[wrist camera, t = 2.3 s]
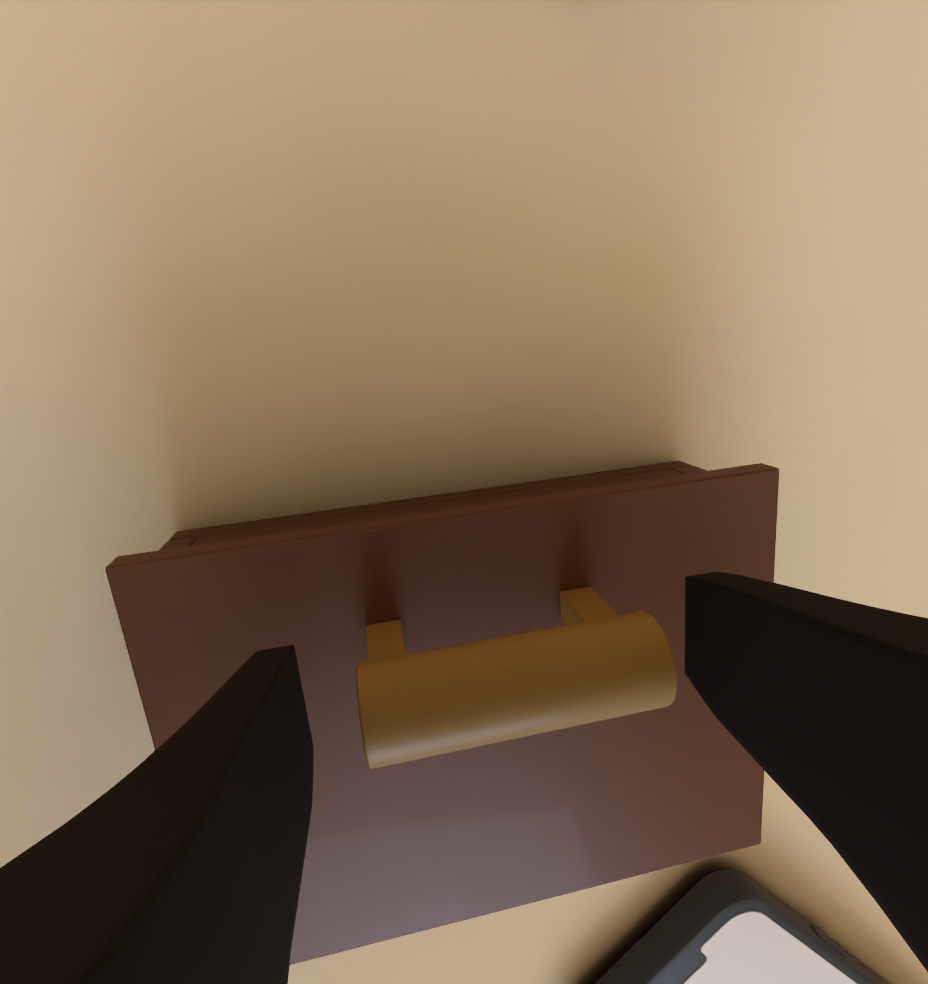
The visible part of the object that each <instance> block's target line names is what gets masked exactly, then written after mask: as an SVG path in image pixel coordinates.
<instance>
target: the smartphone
mask: <svg viewBox="0 0 928 984" xmlns="http://www.w3.org/2000/svg"><path fill="white" fill-rule="evenodd" d="M595 984H888V983H886V982H885V981H884V980H882V979H881V978H880V977H879V976H877V975H876V974H875V973H873V972H872V971H871V970H869V969H868V968H867V967H866V966H864V965H863V964H862V963H860V962H859V961H858V960H857V959H855V958H854V957H853V956H851V955H850V954H849V953H847V952H846V951H845V950H844V949H842V947H841V946H840V945H839V944H838V943H837V942H835V941H834V940H833V939H832V938H830V937H829V936H828V935H826V934H825V933H824V932H822V931H821V930H820V929H819V928H817V927H816V926H815V925H813V924H810V923H809V922H807V921H806V920H805V919H803V918H802V917H801V916H800V915H798V914H797V913H796V912H794V911H793V910H792V909H790V908H789V907H788V906H787V905H785V904H784V903H783V902H781V901H780V900H779V899H778V898H776V897H775V896H774V895H772V894H771V893H770V892H768V891H767V890H766V889H765V888H763V887H762V886H761V885H759V884H758V883H757V882H755V881H754V880H753V879H752V878H750V877H749V876H748V875H746V874H745V873H743V872H741V871H738V870H735V869H723V870H719V871H715V872H713V873H711V874H709V875H707V876H705V877H704V878H702V879H701V880H700V881H699V882H698V883H697V884H696V885H695V886H694V887H693V888H692V889H691V890H689V891H688V892H687V893H686V894H685V895H684V896H683V897H682V898H681V899H680V900H679V901H678V902H677V903H676V904H675V905H674V906H673V907H672V908H671V909H670V910H669V911H668V912H667V913H666V914H665V915H664V916H663V917H662V918H661V919H660V920H659V921H658V922H657V923H656V924H655V925H654V926H653V927H652V928H651V929H650V930H649V931H648V932H647V933H646V934H645V935H644V936H643V937H642V938H641V939H640V940H639V941H638V942H637V943H636V944H634V945H633V946H632V947H631V948H630V949H629V950H628V951H627V952H626V953H625V954H624V955H623V956H622V957H621V958H620V959H619V960H618V961H617V962H616V963H615V964H614V965H613V966H612V967H611V968H610V969H609V970H608V971H607V972H606V973H605V974H604V975H603V976H602V977H601V978H600V979H599V980H598V981H597V982H596V983H595Z"/></svg>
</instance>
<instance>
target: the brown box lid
mask: <svg viewBox="0 0 928 984" xmlns="http://www.w3.org/2000/svg"><path fill="white" fill-rule="evenodd" d="M778 481H779V469H778V468H775V467H772V466H768V465H765V464H762V463H760V464H753V465H746V466H739V467H732V468H725V469H718V470H711V471H705V472H698V473H691V474H684V475H677V476H670V477H663V478H656V479H649V480H643V481H636V482H629V483H622V484H615V485H608V486H601V487H594V488H587V489H580V490H574V491H567V492H560V493H553V494H546V495H539V496H532V497H525V498H518V499H511V500H505V501H498V502H491V503H484V504H477V505H470V506H463V507H456V508H449V509H443V510H436V511H429V512H422V513H415V514H408V515H401V516H394V517H387V518H380V519H374V520H367V521H360V522H353V523H346V524H339V525H332V526H325V527H318V528H311V529H305V530H298V531H291V532H284V533H277V534H270V535H263V536H256V537H249V538H243V539H236V540H229V541H222V542H215V543H208V544H201V545H194V546H187V547H180V548H174V549H167V550H160V551H153V552H146V553H139V554H132V555H125V556H119V557H117V558H115V559H114V560H113V561H112V562H111V563H110V564H109V565H108V566H107V567H106V574H107V577H108V581H109V584H110V588H111V592H112V595H113V599H114V602H115V606H116V610H117V613H118V617H119V620H120V624H121V628H122V631H123V635H124V639H125V642H126V646H127V649H128V653H129V657H130V660H131V664H132V667H133V671H134V675H135V678H136V682H137V685H138V689H139V693H140V696H141V700H142V704H143V707H144V711H145V714H146V718H147V722H148V725H149V729H150V732H151V736H152V740H153V743H154V747H155V750H157V749H158V748H159V747H160V746H161V745H162V744H163V743H164V742H165V741H166V740H167V739H168V738H170V737H171V736H172V735H173V734H174V733H175V732H176V731H177V730H178V729H179V728H180V727H181V726H183V725H184V724H185V723H186V722H187V721H188V720H189V719H190V718H191V717H192V716H193V715H194V714H195V713H196V712H197V711H198V710H199V709H200V708H201V707H202V706H203V705H204V704H205V703H206V702H207V701H208V700H209V699H210V698H211V697H212V696H213V695H214V694H215V693H216V692H217V691H218V690H219V689H220V688H221V687H222V686H223V685H224V684H225V683H226V682H227V680H228V679H229V678H230V677H231V676H232V675H233V674H234V673H235V672H236V671H237V670H238V669H239V668H240V667H241V666H242V665H243V664H244V663H245V662H246V661H247V660H248V659H249V658H250V657H251V656H252V655H253V654H254V653H255V652H256V651H260V650H265V649H271V648H277V647H283V646H288V645H294V647H295V652H296V657H297V663H298V668H299V673H300V678H301V683H302V689H303V694H304V699H305V704H306V709H307V715H308V720H309V725H310V730H311V735H312V741H313V746H314V760H313V801H312V810H311V818H310V825H309V832H308V839H307V845H306V852H305V859H304V866H303V873H302V879H301V886H300V893H299V899H298V906H297V913H296V919H295V926H294V933H293V940H292V946H291V955H290V964H289V965H291V964H295V963H299V962H303V961H306V960H310V959H314V958H318V957H322V956H326V955H330V954H334V953H338V952H341V951H345V950H349V949H353V948H357V947H361V946H365V945H369V944H373V943H376V942H380V941H384V940H388V939H392V938H396V937H400V936H404V935H408V934H411V933H415V932H419V931H423V930H427V929H431V928H435V927H439V926H443V925H446V924H450V923H454V922H458V921H462V920H466V919H470V918H474V917H477V916H481V915H485V914H489V913H493V912H497V911H501V910H505V909H509V908H512V907H516V906H520V905H524V904H528V903H532V902H536V901H540V900H544V899H547V898H551V897H555V896H559V895H563V894H567V893H571V892H575V891H579V890H582V889H586V888H590V887H594V886H598V885H602V884H606V883H610V882H614V881H617V880H621V879H625V878H629V877H633V876H637V875H641V874H645V873H649V872H652V871H656V870H660V869H664V868H668V867H672V866H676V865H680V864H684V863H687V862H691V861H695V860H699V859H703V858H707V857H711V856H715V855H719V854H722V853H726V852H730V851H734V850H738V849H742V848H746V847H750V846H754V845H757V844H760V842H761V822H762V802H763V782H764V769H763V768H762V767H761V766H760V765H759V764H758V763H757V762H756V761H755V760H754V759H753V758H752V757H751V755H750V754H749V753H748V752H747V751H746V750H745V749H744V748H743V747H742V746H741V745H740V744H739V742H738V741H737V740H736V739H735V738H734V737H733V736H732V735H731V734H730V733H729V732H728V730H727V729H726V728H725V727H724V726H723V725H722V724H721V723H720V721H719V720H718V719H717V718H716V717H715V716H714V714H713V713H712V712H711V710H710V709H709V707H708V706H707V705H706V703H705V702H704V701H703V699H702V698H701V696H700V695H699V693H698V692H697V690H696V689H695V687H694V686H693V684H692V683H691V682H690V680H689V679H688V677H687V676H686V674H685V577H686V576H692V575H698V574H704V573H709V572H724V573H731V574H737V575H742V576H747V577H751V578H756V579H760V580H764V581H768V582H772V583H773V581H774V561H775V541H776V521H777V501H778Z"/></svg>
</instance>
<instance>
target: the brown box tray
mask: <svg viewBox="0 0 928 984" xmlns="http://www.w3.org/2000/svg"><path fill="white" fill-rule="evenodd" d="M705 471H707V470H704V469H701V468H698V467H695V466H692V465H689V464H686V463H684V462H681V461H676V462H669V463H661V464H654V465H647V466H640V467H633V468H626V469H619V470H612V471H605V472H598V473H591V474H583V475H576V476H569V477H562V478H555V479H548V480H541V481H534V482H527V483H520V484H512V485H505V486H498V487H491V488H484V489H477V490H470V491H463V492H456V493H449V494H442V495H434V496H427V497H420V498H413V499H406V500H399V501H392V502H385V503H378V504H371V505H363V506H356V507H349V508H342V509H335V510H328V511H321V512H314V513H307V514H300V515H292V516H285V517H278V518H271V519H264V520H257V521H250V522H243V523H236V524H229V525H222V526H214V527H207V528H200V529H193V530H186V531H179V532H176V533H175V534H174V535H173V536H172V537H171V538H170V539H169V541H168V542H166V543H165V545H164V546H163V547H162V548H161V549H160V550H167V549H174V548H180V547H187V546H194V545H201V544H208V543H215V542H222V541H229V540H236V539H243V538H249V537H256V536H263V535H270V534H277V533H284V532H291V531H298V530H305V529H311V528H318V527H325V526H332V525H339V524H346V523H353V522H360V521H367V520H374V519H380V518H387V517H394V516H401V515H408V514H415V513H422V512H429V511H436V510H443V509H449V508H456V507H463V506H470V505H477V504H484V503H491V502H498V501H505V500H511V499H518V498H525V497H532V496H539V495H546V494H553V493H560V492H567V491H574V490H580V489H587V488H594V487H601V486H608V485H615V484H622V483H629V482H636V481H643V480H649V479H656V478H663V477H670V476H677V475H684V474H691V473H698V472H705ZM160 550H159V551H160Z"/></svg>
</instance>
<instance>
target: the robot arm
mask: <svg viewBox="0 0 928 984" xmlns="http://www.w3.org/2000/svg"><path fill="white" fill-rule="evenodd" d="M685 674H686V676H687V677H688V679H689V680H690V682H691V683H692V684H693V686H694V687H695V689H696V690H697V692H698V693H699V695H700V696H701V698H702V699H703V701H704V702H705V703H706V705H707V706H708V707H709V709H710V710H711V712H712V713H713V714H714V716H715V717H716V718H717V719H718V720H719V721H720V723H721V724H722V725H723V726H724V727H725V728H726V729H727V730H728V732H729V733H730V734H731V735H732V736H733V737H734V738H735V739H736V740H737V741H738V742H739V744H740V745H741V746H742V747H743V748H744V749H745V750H746V751H747V752H748V753H749V754H750V755H751V757H752V758H753V759H754V760H755V761H756V762H757V763H758V764H759V765H760V766H761V767H762V768H763V769H764V770H765V771H766V773H767V774H768V775H769V776H770V777H771V778H772V779H773V780H774V781H775V782H776V783H777V784H778V785H779V786H780V788H781V789H782V790H783V791H784V792H785V793H786V794H787V795H788V796H789V797H790V798H791V799H792V800H793V801H794V803H795V804H796V805H797V806H798V807H799V808H800V809H801V810H802V811H803V812H804V813H805V814H806V815H807V816H808V817H809V819H810V820H811V821H812V822H813V823H814V824H815V826H816V827H817V828H818V829H819V830H820V831H821V832H822V834H823V835H824V836H825V837H826V838H827V839H828V841H829V842H830V843H831V844H832V845H833V847H834V848H835V849H836V850H837V852H838V853H839V854H840V856H841V857H842V858H843V859H844V861H845V862H846V863H847V865H848V866H849V867H850V868H851V870H852V871H853V872H854V874H855V875H856V876H857V877H858V879H859V880H860V881H861V883H862V884H863V885H864V886H865V888H866V889H867V890H868V892H869V893H870V894H871V895H872V897H873V898H874V899H875V901H876V902H877V903H878V905H879V906H880V907H881V909H882V910H883V911H884V913H885V914H886V916H887V917H888V918H889V920H890V921H891V922H892V924H893V925H894V926H895V928H896V929H897V931H898V932H899V933H900V935H901V936H902V937H903V939H904V940H905V941H906V943H907V944H908V946H909V947H910V948H911V950H912V951H913V952H914V954H915V955H916V956H917V958H918V959H919V961H920V962H921V963H922V965H923V966H924V967H925V969H926V970H927V971H928V618H923V617H917V616H912V615H908V614H903V613H898V612H894V611H889V610H884V609H880V608H875V607H870V606H866V605H862V604H857V603H853V602H849V601H845V600H841V599H836V598H832V597H828V596H824V595H820V594H816V593H812V592H808V591H804V590H800V589H797V588H793V587H789V586H785V585H781V584H776V583H772V582H768V581H764V580H760V579H756V578H751V577H747V576H742V575H737V574H731V573H724V572H709V573H704V574H698V575H692V576H686V577H685ZM313 760H314V746H313V741H312V735H311V730H310V725H309V720H308V715H307V709H306V704H305V699H304V694H303V689H302V683H301V678H300V673H299V668H298V663H297V657H296V652H295V647H294V645H288V646H283V647H277V648H271V649H265V650H260V651H256V652H255V653H254V654H253V655H252V656H251V657H250V658H249V659H248V660H247V661H246V662H245V663H244V664H243V665H242V666H241V667H240V668H239V669H238V670H237V671H236V672H235V673H234V674H233V675H232V676H231V677H230V678H229V679H228V680H227V682H226V683H225V684H224V685H223V686H222V687H221V688H220V689H219V690H218V691H217V692H216V693H215V694H214V695H213V696H212V697H211V698H210V699H209V700H208V701H207V702H206V703H205V704H204V705H203V706H202V707H201V708H200V709H199V710H198V711H197V712H196V713H195V714H194V715H193V716H192V717H191V718H190V719H189V720H188V721H187V722H186V723H185V724H184V725H183V726H181V727H180V728H179V729H178V730H177V731H176V732H175V733H174V734H173V735H172V736H171V737H170V738H168V739H167V740H166V741H165V742H164V743H163V744H162V745H161V746H160V747H159V748H158V749H157V750H155V751H154V752H153V753H152V754H151V755H150V756H149V757H148V758H147V759H146V760H145V761H143V762H142V763H141V764H140V765H139V766H138V767H136V768H135V769H134V770H133V771H132V772H131V773H129V774H128V775H127V776H126V777H125V778H123V779H122V780H121V781H120V782H118V783H117V784H116V785H115V786H114V787H112V788H111V789H110V790H109V791H107V792H106V793H105V794H103V795H102V796H101V797H100V798H98V799H97V800H96V801H94V802H93V803H92V804H90V805H89V806H88V807H87V808H85V809H84V810H83V811H81V812H80V813H79V814H78V815H76V816H75V817H73V818H72V819H71V820H69V821H68V822H67V823H65V824H64V825H63V826H61V827H60V828H58V829H57V830H55V831H54V832H52V833H51V834H49V835H48V836H46V837H45V838H44V839H42V840H41V841H39V842H38V843H36V844H35V845H33V846H32V847H30V848H29V849H27V850H26V851H25V852H23V853H22V854H20V855H19V856H17V857H16V858H14V859H13V860H11V861H10V862H8V863H7V864H6V865H4V866H3V867H1V868H0V984H287V982H288V973H289V964H290V955H291V946H292V940H293V933H294V926H295V919H296V913H297V906H298V899H299V893H300V886H301V879H302V873H303V866H304V859H305V852H306V845H307V839H308V832H309V825H310V818H311V810H312V801H313Z"/></svg>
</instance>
